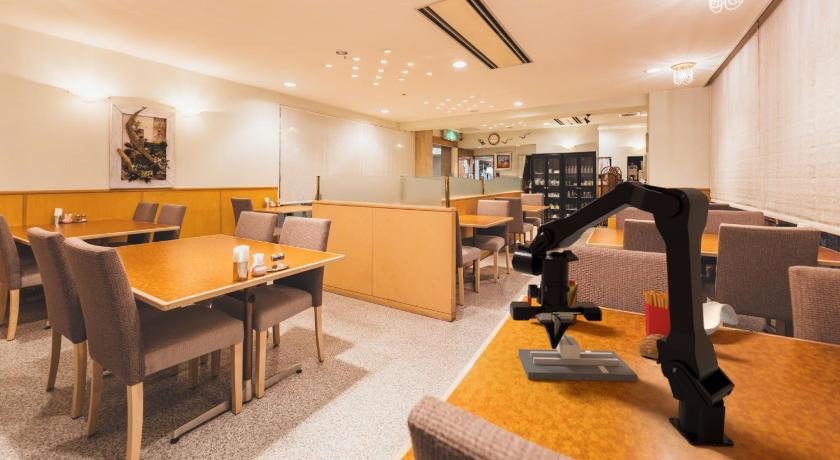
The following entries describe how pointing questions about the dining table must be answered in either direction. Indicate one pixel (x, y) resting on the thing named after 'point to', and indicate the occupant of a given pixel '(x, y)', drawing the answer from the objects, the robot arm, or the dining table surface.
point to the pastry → (649, 346)
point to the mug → (571, 300)
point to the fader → (569, 347)
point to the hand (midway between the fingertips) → (553, 348)
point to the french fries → (657, 313)
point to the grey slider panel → (575, 366)
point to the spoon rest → (717, 316)
